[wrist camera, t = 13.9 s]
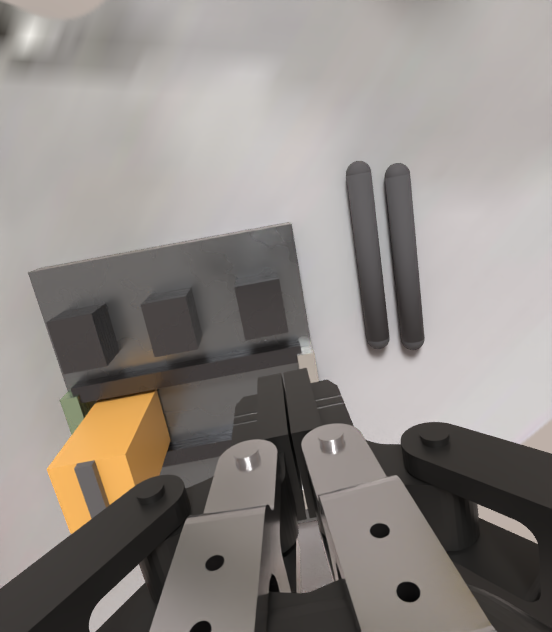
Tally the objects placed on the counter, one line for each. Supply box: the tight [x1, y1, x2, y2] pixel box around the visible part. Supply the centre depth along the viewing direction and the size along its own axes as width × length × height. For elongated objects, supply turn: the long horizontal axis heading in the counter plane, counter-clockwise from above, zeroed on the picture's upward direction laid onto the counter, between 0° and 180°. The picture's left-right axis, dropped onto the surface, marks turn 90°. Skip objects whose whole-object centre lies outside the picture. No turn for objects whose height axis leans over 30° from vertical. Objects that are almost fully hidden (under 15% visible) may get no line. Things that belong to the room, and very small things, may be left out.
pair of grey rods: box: [346, 161, 424, 350], centre depth 26 cm, size 4×12×1 cm, turn 10°
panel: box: [28, 222, 319, 524], centre depth 27 cm, size 15×20×4 cm
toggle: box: [47, 389, 171, 534], centre depth 24 cm, size 4×4×7 cm
